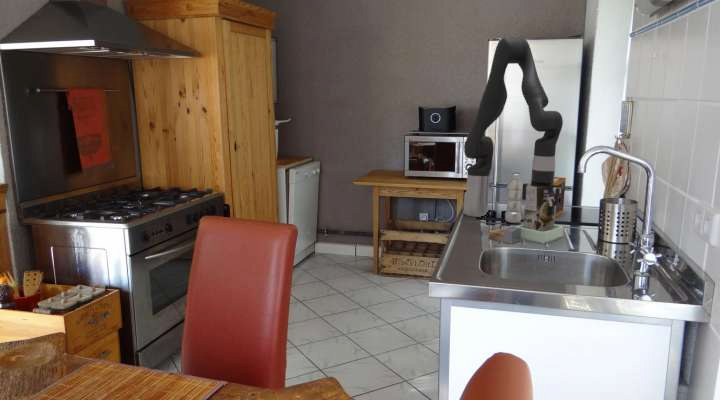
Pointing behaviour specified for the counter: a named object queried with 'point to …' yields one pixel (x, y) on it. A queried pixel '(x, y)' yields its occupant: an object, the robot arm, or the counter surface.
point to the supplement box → (561, 184)
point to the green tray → (541, 234)
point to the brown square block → (497, 235)
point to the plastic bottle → (514, 199)
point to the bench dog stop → (512, 235)
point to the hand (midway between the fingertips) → (539, 214)
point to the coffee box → (538, 208)
